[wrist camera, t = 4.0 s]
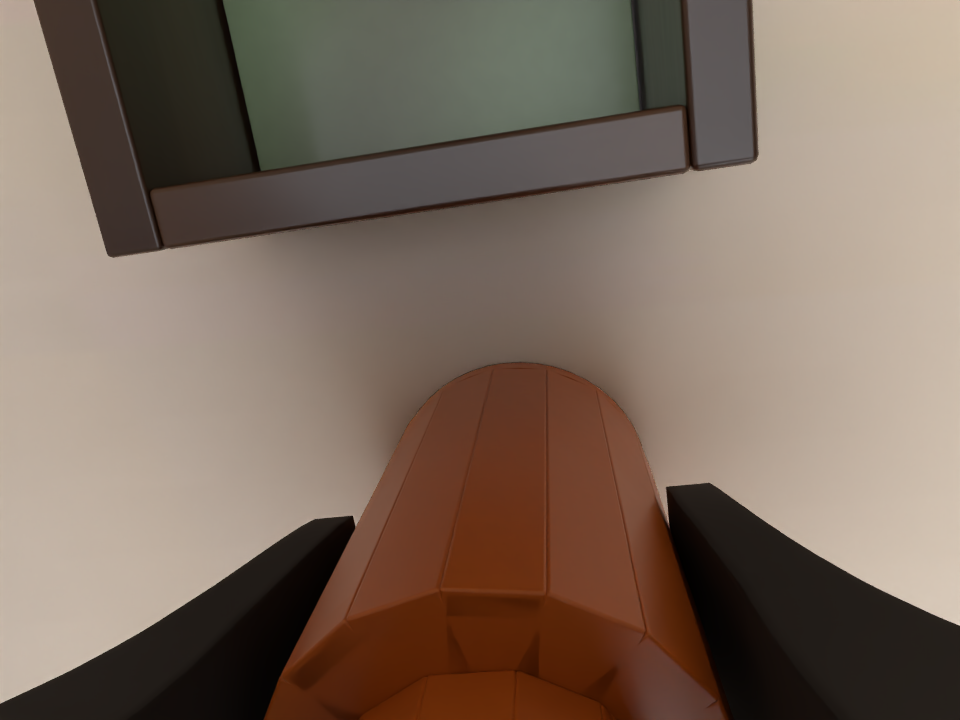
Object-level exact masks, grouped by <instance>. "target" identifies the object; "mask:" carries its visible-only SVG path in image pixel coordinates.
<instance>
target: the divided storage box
mask: <svg viewBox="0 0 960 720" xmlns="http://www.w3.org/2000/svg"><path fill="white" fill-rule="evenodd" d="M34 3H35V7H36V10H37V14H38V17H39V20H40V24H41V27H42V31H43V34H44V38H45V41H46V45H47V48H48V51H49V55H50V58H51V62H52V65H53V69H54V72H55V76H56V79H57V83H58V86H59V89H60V93H61V96H62V100H63V103H64V107H65V110H66V114H67V117H68V120H69V124H70V127H71V131H72V134H73V138H74V141H75V145H76V148H77V151H78V155H79V158H80V162H81V165H82V169H83V172H84V176H85V179H86V182H87V186H88V189H89V193H90V196H91V200H92V203H93V207H94V210H95V213H96V217H97V220H98V224H99V227H100V231H101V234H102V238H103V241H104V245H105V248H106V251H107V254H108V256H110V257H113V258H114V257H120V256H127V255H134V254H141V253H148V252H154V251H161V250H165V249H169V248H170V249H174V248H181V247H188V246H195V245H201V244H208V243H215V242H222V241H228V240H235V239H242V238H249V237H256V236H262V235H269V234H276V233H283V232H290V231H296V230H303V229H310V228H317V227H324V226H330V225H337V224H344V223H351V222H358V221H364V220H371V219H378V218H385V217H391V216H398V215H405V214H412V213H419V212H425V211H432V210H439V209H446V208H453V207H459V206H466V205H473V204H480V203H487V202H493V201H500V200H507V199H514V198H521V197H527V196H534V195H541V194H548V193H554V192H561V191H568V190H575V189H582V188H588V187H595V186H602V185H609V184H616V183H622V182H629V181H636V180H643V179H650V178H656V177H663V176H670V175H677V174H684V173H685V172H687V171H689V170H693V171H704V170H710V169H717V168H724V167H731V166H738V165H744V164H751V163H753V162H754V161H756V160H757V157H758V155H759V151H758V126H757V102H756V77H755V53H754V28H753V3H752V0H34Z"/></svg>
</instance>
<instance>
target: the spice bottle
mask: <svg viewBox="0 0 960 720" xmlns="http://www.w3.org/2000/svg"><path fill="white" fill-rule="evenodd" d="M264 720H734V718H733V715H732V712H731V709H730V706H729V703H728V700H727V697H726V694H725V691H724V688H723V685H722V682H721V679H720V676H719V673H718V670H717V667H716V664H715V661H714V658H713V655H712V652H711V649H710V646H709V643H708V640H707V637H706V634H705V631H704V628H703V625H702V622H701V619H700V616H699V613H698V610H697V607H696V604H695V601H694V598H693V595H692V592H691V590H690V587H689V584H688V581H687V578H686V576H685V573H684V570H683V567H682V564H681V561H680V558H679V555H678V552H677V549H676V546H675V543H674V540H673V537H672V534H671V531H670V527H669V523H668V520H667V517H666V514H665V511H664V508H663V504H662V501H661V498H660V495H659V492H658V489H657V486H656V483H655V480H654V477H653V474H652V471H651V468H650V466H649V463H648V461H647V459H646V456H645V454H644V451H643V449H642V445H641V442H640V439H639V437H638V435H637V433H636V431H635V429H634V427H633V425H632V424H631V422H630V421H629V419H628V418H627V416H626V415H625V413H624V412H623V411H622V410H621V408H620V407H619V406H618V405H617V404H616V403H615V402H614V401H613V400H612V399H611V398H610V397H609V396H608V395H607V394H605V393H604V392H603V391H602V390H601V389H599V388H598V387H596V386H595V385H593V384H592V383H590V382H589V381H587V380H585V379H583V378H581V377H579V376H577V375H575V374H573V373H571V372H568V371H565V370H562V369H559V368H556V367H552V366H547V365H542V364H535V363H521V362H519V363H503V364H497V365H492V366H486V367H483V368H480V369H477V370H474V371H471V372H469V373H466V374H464V375H462V376H460V377H458V378H456V379H454V380H453V381H451V382H450V383H448V384H446V385H445V386H443V387H442V388H441V389H440V390H438V391H437V392H436V393H435V394H434V395H432V396H431V397H430V398H429V399H428V400H427V402H426V403H425V404H424V405H423V406H422V407H421V408H420V410H419V411H418V413H417V414H416V416H415V417H414V418H413V419H412V420H411V421H410V423H409V424H408V426H407V428H406V430H405V432H404V434H403V436H402V438H401V440H400V442H399V444H398V445H397V447H396V449H395V451H394V453H393V455H392V457H391V459H390V461H389V463H388V465H387V467H386V469H385V471H384V473H383V475H382V477H381V479H380V481H379V483H378V485H377V487H376V489H375V491H374V493H373V495H372V497H371V499H370V501H369V503H368V504H367V506H366V508H365V510H364V512H363V514H362V516H361V518H360V520H359V522H358V524H357V526H356V528H355V530H354V532H353V534H352V536H351V538H350V540H349V542H348V544H347V546H346V548H345V550H344V552H343V554H342V556H341V558H340V560H339V561H338V563H337V565H336V567H335V569H334V571H333V573H332V575H331V577H330V579H329V581H328V583H327V585H326V587H325V589H324V591H323V593H322V595H321V597H320V599H319V601H318V603H317V605H316V607H315V609H314V611H313V613H312V615H311V617H310V619H309V620H308V622H307V624H306V626H305V628H304V630H303V632H302V634H301V636H300V638H299V640H298V642H297V644H296V646H295V648H294V650H293V652H292V654H291V656H290V658H289V660H288V662H287V664H286V666H285V668H284V670H283V672H282V674H281V676H280V677H279V680H278V683H277V685H276V688H275V691H274V693H273V696H272V699H271V701H270V704H269V707H268V709H267V712H266V715H265V717H264Z"/></svg>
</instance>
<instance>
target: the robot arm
mask: <svg viewBox="0 0 960 720" xmlns="http://www.w3.org/2000/svg"><path fill="white" fill-rule="evenodd" d="M666 492H667V503H668V515H669V527H670V531H671V534H672V537H673V540H674V543H675V546H676V549H677V552H678V555H679V558H680V561H681V564H682V567H683V570H684V573H685V576H686V578H687V581H688V584H689V587H690V590H691V592H692V595H693V598H694V601H695V604H696V607H697V610H698V613H699V616H700V619H701V622H702V625H703V628H704V631H705V634H706V637H707V640H708V643H709V646H710V649H711V652H712V655H713V658H714V661H715V664H716V667H717V670H718V673H719V676H720V679H721V682H722V685H723V688H724V691H725V694H726V697H727V700H728V703H729V706H730V709H731V712H732V715H733V718H734V720H960V626H959V625H956V624H954V623H951V622H949V621H947V620H944V619H942V618H939V617H937V616H935V615H933V614H930V613H928V612H926V611H924V610H922V609H920V608H918V607H915V606H913V605H911V604H909V603H907V602H905V601H903V600H900V599H898V598H896V597H894V596H892V595H890V594H888V593H885V592H883V591H881V590H879V589H877V588H875V587H874V586H872V585H870V584H868V583H866V582H864V581H862V580H860V579H858V578H856V577H854V576H853V575H851V574H849V573H847V572H846V571H844V570H842V569H840V568H839V567H837V566H835V565H833V564H832V563H830V562H828V561H826V560H825V559H823V558H821V557H819V556H818V555H816V554H814V553H813V552H811V551H810V550H808V549H806V548H805V547H803V546H801V545H800V544H798V543H797V542H795V541H793V540H792V539H790V538H789V537H787V536H786V535H784V534H783V533H781V532H780V531H778V530H777V529H775V528H774V527H772V526H771V525H769V524H768V523H766V522H765V521H763V520H762V519H760V518H759V517H758V516H756V515H755V514H753V513H752V512H750V511H749V510H748V509H746V508H745V507H743V506H742V505H741V504H739V503H738V502H736V501H735V500H734V499H732V498H731V497H729V496H728V495H727V494H725V493H724V492H722V491H721V490H720V489H718V488H717V487H715V486H714V485H712V484H711V483H703V484H692V485H681V486H670V487H666ZM354 530H355V523H354V519H353V516H345V517H334V518H323V519H315V520H313V521H311V522H309V523H307V524H305V525H303V526H301V527H300V528H298V529H296V530H295V531H293V532H292V533H290V534H289V535H287V536H286V537H284V538H283V539H281V540H280V541H278V542H277V543H275V544H274V545H272V546H271V547H269V548H268V549H266V550H265V551H264V552H262V553H261V554H259V555H258V556H256V557H255V558H253V559H252V560H251V561H249V562H248V563H246V564H245V565H243V566H242V567H240V568H239V569H238V570H236V571H235V572H233V573H232V574H230V575H229V576H227V577H226V578H225V579H223V580H222V581H220V582H219V583H217V584H216V585H214V586H213V587H211V588H210V589H208V590H207V591H205V592H204V593H202V594H200V595H199V596H197V597H196V598H194V599H193V600H191V601H190V602H188V603H186V604H185V605H183V606H182V607H180V608H179V609H177V610H176V611H174V612H172V613H171V614H169V615H168V616H166V617H165V618H163V619H162V620H160V621H158V622H157V623H155V624H154V625H152V626H150V627H149V628H147V629H145V630H144V631H142V632H140V633H139V634H137V635H135V636H133V637H132V638H130V639H128V640H126V641H125V642H123V643H121V644H120V645H118V646H116V647H114V648H112V649H110V650H108V651H107V652H105V653H103V654H101V655H99V656H97V657H95V658H94V659H92V660H90V661H88V662H86V663H84V664H82V665H81V666H79V667H77V668H75V669H73V670H71V671H69V672H67V673H65V674H63V675H61V676H59V677H57V678H55V679H52V680H50V681H48V682H46V683H44V684H42V685H40V686H37V687H35V688H33V689H31V690H29V691H27V692H25V693H22V694H20V695H18V696H16V697H14V698H12V699H9V700H7V701H5V702H3V703H1V704H0V720H264V717H265V715H266V712H267V709H268V707H269V704H270V701H271V699H272V696H273V693H274V691H275V688H276V685H277V683H278V680H279V677H280V676H281V674H282V672H283V670H284V668H285V666H286V664H287V662H288V660H289V658H290V656H291V654H292V652H293V650H294V648H295V646H296V644H297V642H298V640H299V638H300V636H301V634H302V632H303V630H304V628H305V626H306V624H307V622H308V620H309V619H310V617H311V615H312V613H313V611H314V609H315V607H316V605H317V603H318V601H319V599H320V597H321V595H322V593H323V591H324V589H325V587H326V585H327V583H328V581H329V579H330V577H331V575H332V573H333V571H334V569H335V567H336V565H337V563H338V561H339V560H340V558H341V556H342V554H343V552H344V550H345V548H346V546H347V544H348V542H349V540H350V538H351V536H352V534H353V532H354Z"/></svg>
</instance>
